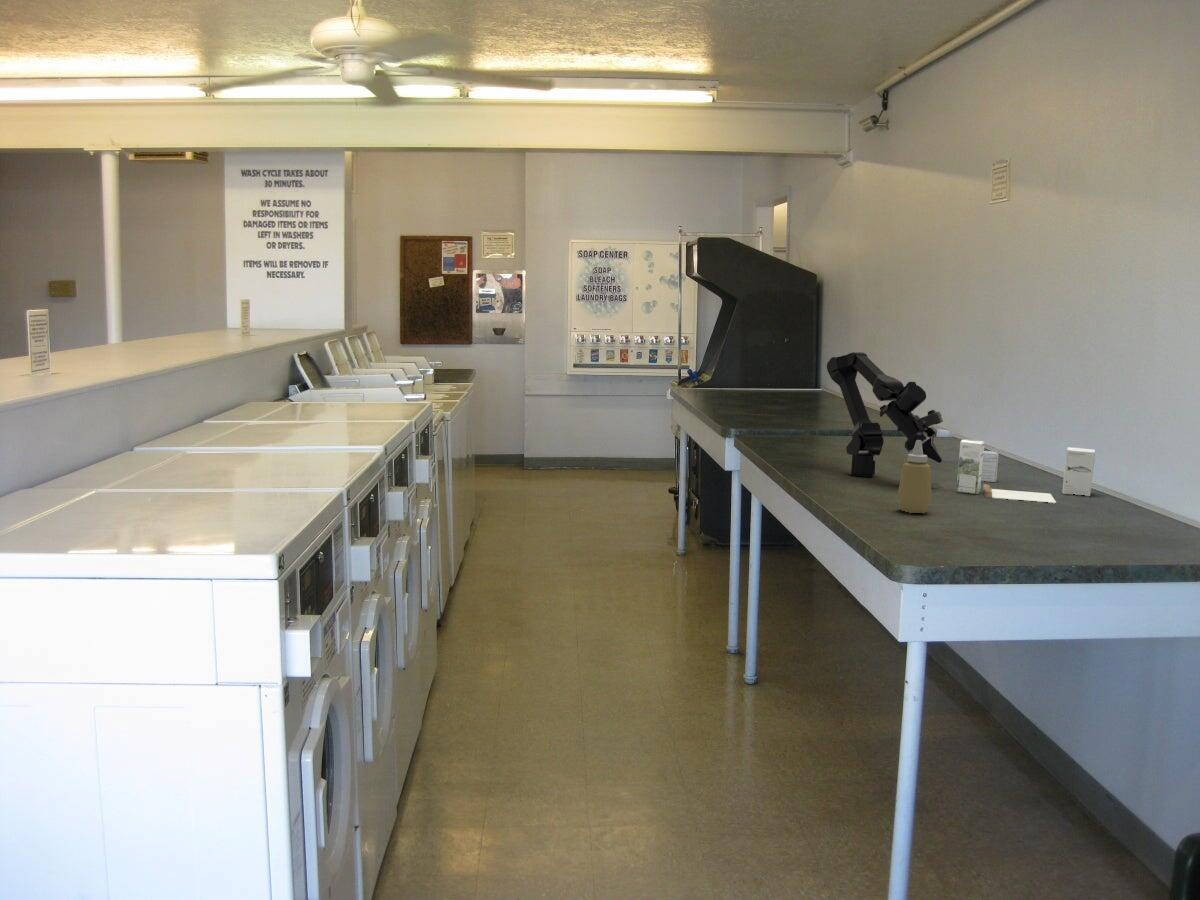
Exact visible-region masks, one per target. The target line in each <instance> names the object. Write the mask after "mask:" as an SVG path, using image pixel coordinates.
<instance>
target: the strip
mask: <svg viewBox="0 0 1200 900" xmlns="http://www.w3.org/2000/svg"><path fill="white" fill-rule="evenodd" d="M991 489H992V488H991V485H990V484H985V483H984V484H982V491H984V492H983V495H984V494H985V495H984V498H992V490H991ZM992 499H993V498H992Z"/></svg>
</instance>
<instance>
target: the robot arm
mask: <svg viewBox="0 0 1200 900" xmlns="http://www.w3.org/2000/svg"><path fill="white" fill-rule="evenodd" d="M826 369H827V370H826V371H827V373H828V375H829V377H830V379H831V381H833V382H834V383H835V384H836V385H837V386H839V389H840V391H841V393H842V397H843V399H844V402H845V405H846V407H847V411H848V413H849V417H850V419H851V422H852V424H853V425H852V426H853V430H852V432H851V440H850V441H849V443H848V444H847V446H846V447H845V448H846V449H845V450H846V454H847V455H851V468H850V469H851V470H850V472H849V473H850V474H849V475H850V476H853V477H865V478H866V477H867V478H872V477H873V478H874V475H876V466H877V465H876V463H877V460H876V459H875V456H880V455H881V452H882V449H883V446H884V436H883V435H884V433H883V431H882V429H881V425H880V424H879V422H873V421H872V420H871V419H870V416H869V414H868V411H867V409H866V405H865V403H864V400H863V397H862V395H861V392H860V390H859V386H858V384H857V379H856V378H857V376H858V373H859V374H860V375H861V376H862V377H863V378H864V380H866V381H867V382H868V383H869V384H870V385H871V386H872V392H873V394H874V396H875V397H876V398H877V400H878V401H879V402H888V403H887V404H883V405H882V406H880V407H879V417H881V418H882V417H884V416H885V415H886V417H888V418H889V420H890V421H891V422H892V423H893V424H894V425H895V427H896V430H897V431H898V432H901V433H902V435H903V436H904V437H905V438H906V441H904V448H905V450H906V451H907V452H908V453H910V452H911V451H912V452H913V450H914V446H915V443H916V440H921V442H922V449H923V455H927V459H928V458H929V459H930V460H933V461H935V462H936V463H939V464H940V463H942V462H943V458H942V456H941V454H940V452H939V450H938V449H937V446H936V444H935V438H936V434H937V433H938V430H937V429H936V428H935V426H933V425H938V424H939V425H940V424H941V423H942V422H944V420H943V418H942V414H941V412H940V411H939V410H938V411H936V410H935V409H931V410H928V411H927V415H924V416H921V417H920V416H919V415H918V414H914V413H913V411H915V410H916V409H917V408H918V407H919V406H920V405H921V404H922V403H923V402H925V401H926V398H927V393H926V390H924V388H922V387H921V386H920V385H917V383H916V381H908V382H907V383H906V384H905V386H904V384H903V383H902V382H901V381H900V380H898V379H897V378H895V377H893V376H890V375H887V374H885V373H884V372H883V370H881V369H880V368H879V367H878V366H877V365H876V364H875V363H874V362H873V361H872V360H871V359H870V357H868V355H867V353H865V352H857V351H856V352H855V351H854V352H853V351H852V352H849V353H847V354H845V355H841V356H832V357H831V358H830V359H829V360H828V362H827V364H826Z"/></svg>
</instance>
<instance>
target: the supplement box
mask: <svg viewBox="0 0 1200 900" xmlns="http://www.w3.org/2000/svg"><path fill="white" fill-rule="evenodd" d="M1065 453H1066V454H1065V461H1064V462H1065V463H1064V471H1063V472H1064V473H1063V479H1062V480H1063V481H1062V482H1063V483H1062V491H1061V493H1063V494H1062V495H1073V494H1075V495H1074V496H1081V495H1085V496H1084V497H1089V496H1090V497H1091V492H1092V485H1093V484H1092V483H1093V473H1094V467H1095V466H1094V464H1095V456H1096V449H1091V448H1084V447H1083V448H1082V447H1073V446H1072V447H1071V446H1069V447H1068V446H1067V447H1066V452H1065Z"/></svg>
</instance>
